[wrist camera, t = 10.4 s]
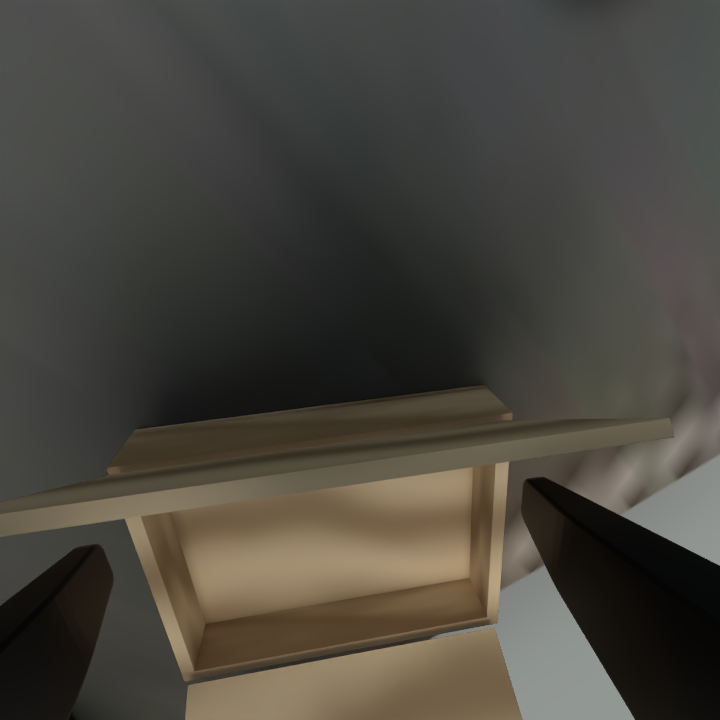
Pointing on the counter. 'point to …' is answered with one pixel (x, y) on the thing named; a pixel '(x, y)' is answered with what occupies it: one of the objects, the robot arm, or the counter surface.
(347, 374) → the counter surface
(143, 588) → the counter surface
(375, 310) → the counter surface
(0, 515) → the flap near
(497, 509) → the carton
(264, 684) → the flap far
